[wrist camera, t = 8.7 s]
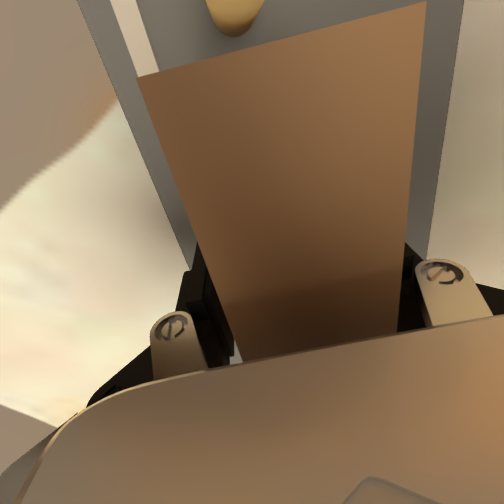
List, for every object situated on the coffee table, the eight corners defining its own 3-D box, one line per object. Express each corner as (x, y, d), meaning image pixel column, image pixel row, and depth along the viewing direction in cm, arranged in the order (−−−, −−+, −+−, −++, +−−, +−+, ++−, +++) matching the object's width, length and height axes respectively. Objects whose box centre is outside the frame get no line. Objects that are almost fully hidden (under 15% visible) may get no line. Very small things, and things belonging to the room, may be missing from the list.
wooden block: (300, 44, 10) (426, 1, 4) (327, 312, 18) (385, 458, 11) (193, 72, 11) (132, 79, 4) (264, 325, 18) (284, 475, 12)
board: (483, -341, 7) (1107, -1351, 2) (402, 349, 22) (454, 434, 17) (14, -186, 8) (-373, -642, 3) (241, 379, 23) (244, 469, 18)
